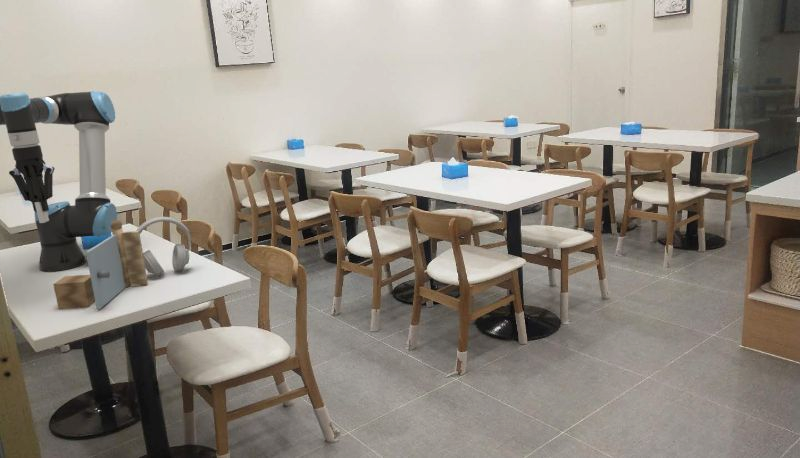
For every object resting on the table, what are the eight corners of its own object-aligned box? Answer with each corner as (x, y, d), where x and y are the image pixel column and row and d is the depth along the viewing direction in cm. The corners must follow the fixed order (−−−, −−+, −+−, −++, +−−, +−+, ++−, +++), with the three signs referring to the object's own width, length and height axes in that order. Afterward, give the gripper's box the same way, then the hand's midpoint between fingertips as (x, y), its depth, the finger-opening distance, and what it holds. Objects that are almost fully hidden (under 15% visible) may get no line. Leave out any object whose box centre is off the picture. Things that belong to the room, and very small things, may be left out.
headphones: (140, 283, 201) (130, 224, 196) (136, 276, 209) (126, 219, 204) (198, 271, 210) (189, 215, 205) (192, 265, 218) (184, 210, 213)
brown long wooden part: (119, 288, 197) (107, 221, 192) (123, 284, 201) (112, 219, 195) (145, 286, 198) (134, 220, 192) (148, 282, 201) (138, 217, 195)
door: (96, 309, 178) (85, 251, 174) (122, 286, 197) (113, 234, 193) (109, 308, 178) (99, 251, 174) (134, 285, 197) (125, 233, 193)
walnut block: (58, 309, 182) (53, 284, 180) (69, 300, 188) (64, 276, 186) (89, 307, 182) (84, 281, 180) (99, 298, 189) (94, 274, 187)
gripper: (-4, 149, 179) (16, 226, 186) (39, 146, 179) (58, 223, 185) (12, 145, 186) (30, 220, 193) (54, 142, 186) (71, 217, 192)
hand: (44, 221), depth 189 cm, fingers closed
